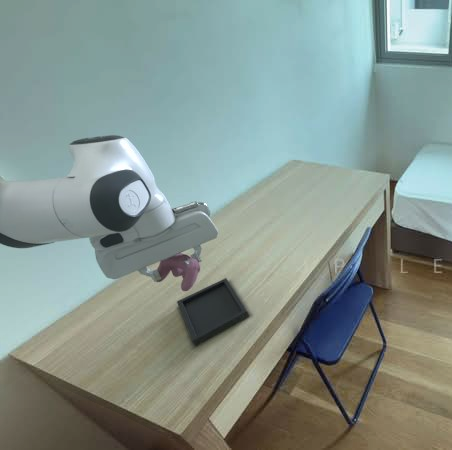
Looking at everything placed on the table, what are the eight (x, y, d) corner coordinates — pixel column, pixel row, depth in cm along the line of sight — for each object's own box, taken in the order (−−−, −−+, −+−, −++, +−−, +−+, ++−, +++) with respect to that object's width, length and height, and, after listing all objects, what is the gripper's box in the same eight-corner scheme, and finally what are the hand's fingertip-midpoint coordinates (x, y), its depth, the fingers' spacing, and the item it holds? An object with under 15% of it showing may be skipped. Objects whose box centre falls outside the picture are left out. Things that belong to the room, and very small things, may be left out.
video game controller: (204, 286, 69) (204, 256, 67) (184, 293, 64) (183, 261, 63) (173, 276, 72) (172, 247, 70) (151, 282, 67) (151, 251, 66)
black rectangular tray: (196, 346, 72) (192, 341, 71) (180, 306, 82) (176, 301, 81) (249, 316, 78) (247, 311, 77) (228, 282, 89) (226, 277, 88)
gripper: (200, 193, 67) (223, 242, 75) (78, 233, 56) (121, 286, 64) (208, 203, 63) (232, 254, 71) (79, 248, 52) (124, 303, 60)
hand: (178, 270), depth 68 cm, fingers closed on video game controller, 6 cm apart
